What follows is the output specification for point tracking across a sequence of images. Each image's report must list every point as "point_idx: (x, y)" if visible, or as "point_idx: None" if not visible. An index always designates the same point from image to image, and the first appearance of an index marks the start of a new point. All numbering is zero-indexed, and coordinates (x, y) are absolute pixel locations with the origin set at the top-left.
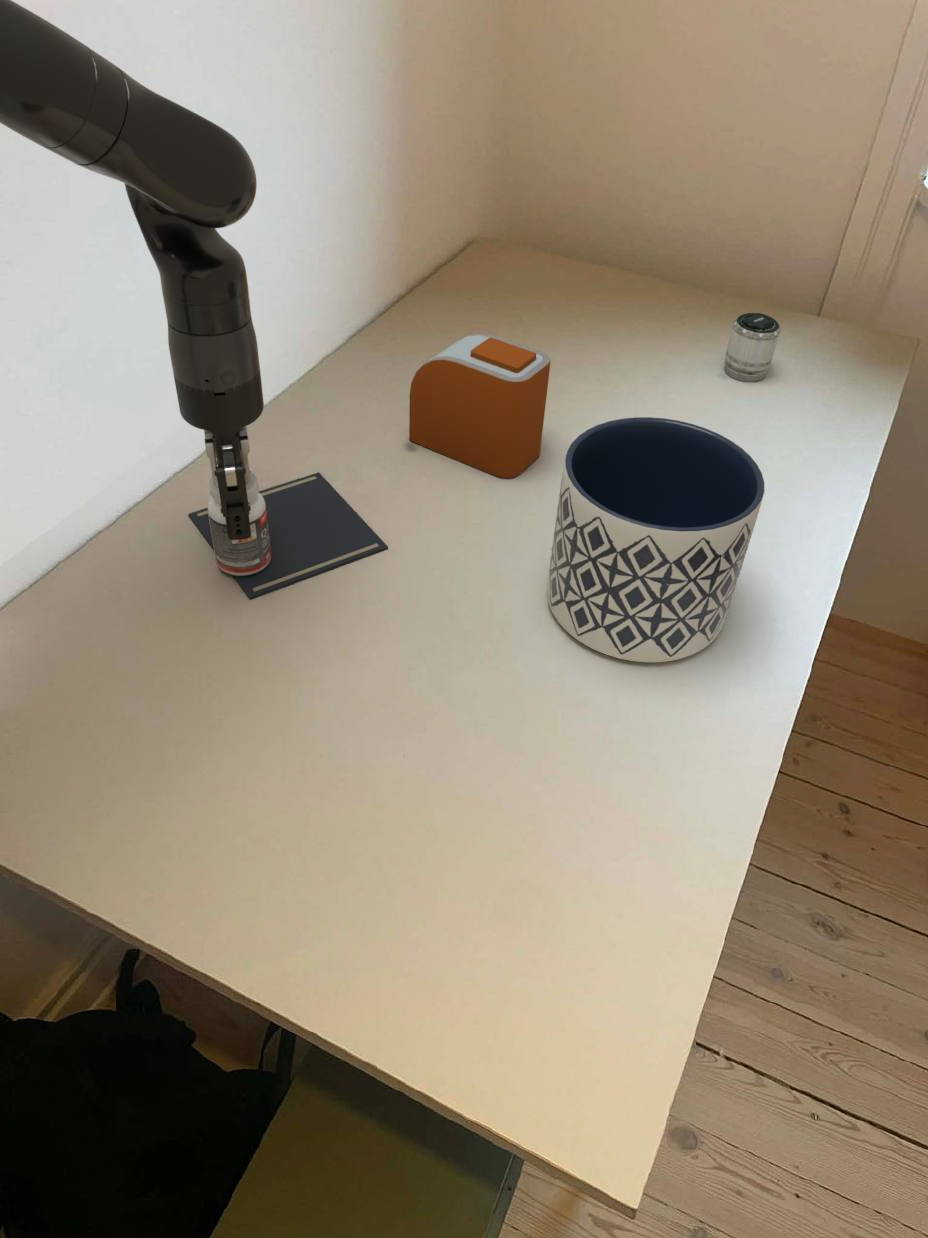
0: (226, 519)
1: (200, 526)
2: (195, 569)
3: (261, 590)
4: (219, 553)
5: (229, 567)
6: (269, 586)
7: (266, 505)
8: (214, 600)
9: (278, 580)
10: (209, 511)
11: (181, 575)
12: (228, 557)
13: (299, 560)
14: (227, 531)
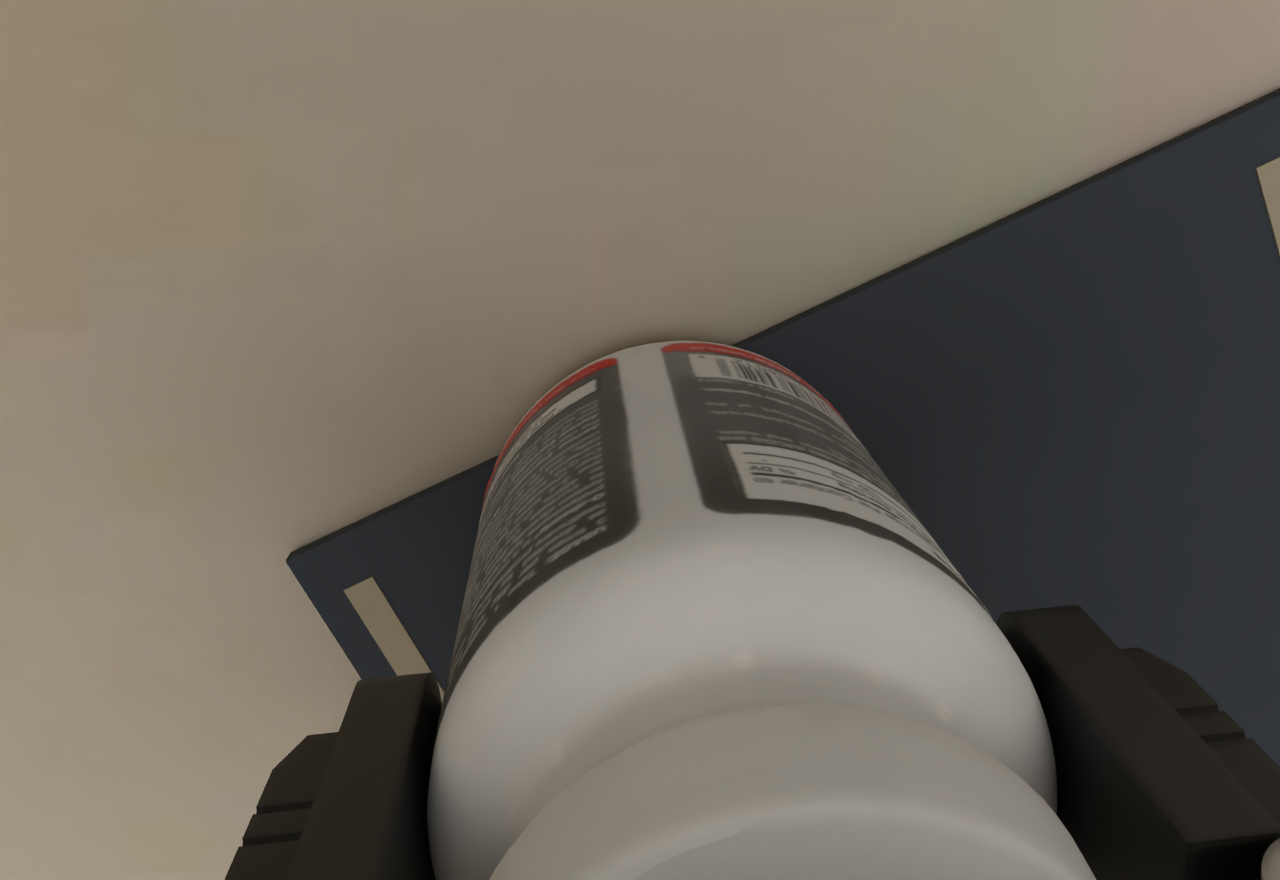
0: (303, 840)
1: (1123, 189)
2: (634, 174)
3: (353, 630)
4: (539, 439)
5: (498, 466)
6: (392, 675)
7: (1259, 633)
8: (284, 328)
9: None
10: (622, 575)
11: (572, 71)
12: (489, 507)
13: None
14: (344, 723)
